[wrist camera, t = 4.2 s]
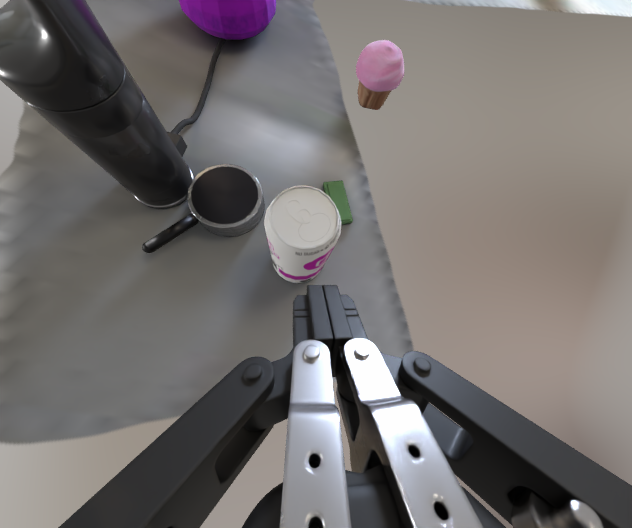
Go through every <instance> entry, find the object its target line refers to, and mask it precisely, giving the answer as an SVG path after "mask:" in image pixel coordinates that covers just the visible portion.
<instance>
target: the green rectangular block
mask: <svg viewBox="0 0 632 528" xmlns="http://www.w3.org/2000/svg"><path fill="white" fill-rule="evenodd" d="M323 188H324V192H325V193H326V194H327V195H328V196H329V197H330V198H331V199H332V201H333V202H334V203H335V205H336V208H337V210H338V212H339V215H340V219H341V224H348V223H352V221H353V219H352V215H351V212H350V208H349V204H348V200H347V196H346V192H345V188H344V185H343V181H332V182H324V183H323Z"/></svg>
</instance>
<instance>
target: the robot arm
mask: <svg viewBox="0 0 632 528" xmlns="http://www.w3.org/2000/svg"><path fill="white" fill-rule="evenodd" d="M224 41H225V39H224V38H220V40H219V42H218V44H217V46H216V49H215V51H214V54H213V56H212V59H211V63H210V67H209V71H208V75H207V79H206V82H205V85H204V88H203V91H202V94H201V97H200V100H199V103H198V106H197V108H196V110H195V112H194V114H193V115H192V116H191V118H189V119H184V120H182V121H181V122H180V123H178V124H177V125H176V127H175V128H174V129H173V130H172V131H171V132H166V130H165V129H164V127H163V125H162V124H161V122H160V121H159V119H158V117H157V116H156V114H155V112H154V111H153V109H152V108H151V106H150V104H149V103H148V101H147V100H146V98H145V96H144V95H143V93H142V91H141V90H140V88H139V87H138V85H137V84H136V82H135V80H134V79H133V77H132V76H131V74H130V72H129V71H128V69H127V67H126V66H125V64H124V63H123V61H122V59H121V58H120V56H119V54H118V53H117V51H116V50H115V48H114V47H113V45H112V43H111V42H110V40H109V39H108V37H107V35H106V34H105V32H104V30H103V29H102V27H101V25H100V24H99V22H98V20H97V19H96V17H95V15H94V14H93V12H92V11H91V9H90V7H89V6H88V4H87V2H86V1H85V0H10V1H8V2H7V3H6V4H5V5H4V6H3V7H2V8H1V9H0V80H1V81H2V82H3V83H4V84H5V85H6V86H8V87H9V88H10V89H11V90H12V91H13V92H15V93H16V94H17V95H18V96H19V97H20V98H22V99H23V100H24V101H25V102H26V103H27V104H29V105H30V106H31V107H32V108H33V109H34V110H36V111H37V112H38V113H39V114H40V115H41V116H43V117H44V118H45V119H46V120H47V121H48V122H49V123H51V124H52V125H53V126H54V127H55V128H57V129H58V130H59V131H60V132H61V133H62V134H64V135H65V136H66V137H67V138H68V139H69V140H71V141H72V142H73V143H74V144H75V145H76V146H77V147H79V148H80V149H81V150H82V151H83V152H84V153H86V154H87V155H88V156H89V157H90V158H91V159H93V160H94V161H95V162H96V163H97V164H98V165H99V166H101V167H102V168H103V169H104V170H105V171H106V172H108V173H109V174H110V175H111V176H112V177H113V178H115V179H116V180H117V181H118V182H119V183H120V185H123V186H124V187H125V188H126V189H127V190H128V191H130V192H131V193H132V194H133V195H134V196H135V197H136V198H137V199H138V200H139V201H140V202H141V203H143V204H144V205H146V206H149V207H152V208H158V209H163V208H170V207H173V206H176V205H178V204H180V203H182V202H183V201H184V200H186V199H187V194H188V189H189V186H190V184H191V182H192V181H193V179H194V176H193V173H192V171H191V170H190V168H189V167H188V166H187V164H186V163H185V161H184V160H183V158H182V157H183V154H184V152H185V150H186V148H187V145H186V143H185V142H184V140H183V138H182V136H181V135H178V133H179V132H180V131H181V130H182V129H183V128H184V127H185V126H186V125H189V124H192V123H194V122H195V121H196V120H197V118H198V117H199V115H200V113H201V111H202V108H203V106H204V103H205V100H206V97H207V94H208V91H209V88H210V84H211V81H212V76H213V72H214V68H215V64H216V61H217V58H218V55H219V53H220V50H221V48H222V45H223V43H224ZM332 377H336V380H337V391H336V394H337V399H338V403H339V407H340V411H341V415H342V419H343V423H344V426H345V430H346V434H347V438H348V442H349V447H350V461H351V468H352V471H347V470H345V463H344V454H343V445H342V436H341V428H340V427H341V426H340V417H339V411H338V408H337V407H336V406H335V401H334V389H333V379H332ZM429 402H430V403H431V404H432V405H431V404H430V403H429ZM433 405H434V406H435V407H436V408H435V407H434V406H433ZM437 408H438V409H439V410H440V411H441V412H440V411H439V410H438V409H437ZM442 412H443V413H444V414H445V415H447V416H448V417H449V418H448V417H447V416H445V415H444V414H443V413H442ZM287 418H288V425H287V439H286V451H285V465H284V478H283V483H281V484H279V485H278V486H276V487H275V488H273V489H272V490H271V491H270V492H269V493H268V494H266V495H265V497H263V499H262V500H261V501H260V502H259V503H258V504H257V506H256V507H255V508H254V509H253V511H252V512H251V514H250V515H249V517H248V518H247V520H246V521H245V523H244V525H243V527H242V528H506V527H505V526H504V525H503V524H502V523H501V522H499V520H498V519H496V518H495V517H494V516H493V515H492V514H491V513H490V512H489V511H488V510H487V509H486V508H485V507H484V506H483V505H482V504H481V503H479V501H477V500H476V499H475V498H474V497H473V496H472V495H471V494H470V493H469V492H468V491H467V490H466V489H465V488H463V487H462V486H461V485H460V483H459V482H458V480H457V478H456V476H457V477H459V478H460V479H461V480H462V481H463V482H464V483H465V484H466V485H467V486H469V487H470V488H471V489H472V490H473V491H474V492H475V493H476V494H478V495H479V496H480V497H481V498H482V499H483V500H484V501H486V503H488V504H489V505H490V506H491V507H492V508H493V509H494V510H495V511H497V512H498V513H499V514H500V515H501V516H502V517H503V518H504V519H506V520H507V521H508V522H509V523H510V524H511V525H512V526H513V528H632V486H631V485H630V484H628V483H627V482H625V481H623V480H622V479H620V478H619V477H617V476H616V475H614V474H613V473H611V472H609V471H608V470H606V469H605V468H603V467H602V466H600V465H599V464H597V463H595V462H594V461H592V460H591V459H589V458H588V457H586V456H584V455H583V454H581V453H580V452H578V451H577V450H575V449H574V448H572V447H570V446H569V445H567V444H566V443H564V442H563V441H561V440H559V439H558V438H556V437H555V436H553V435H552V434H550V433H549V432H547V431H545V430H544V429H542V428H541V427H539V426H538V425H536V424H535V423H533V422H532V421H530V420H528V419H527V418H525V417H524V416H522V415H521V414H519V413H517V412H516V411H514V410H513V409H511V408H510V407H508V406H507V405H505V404H503V403H502V402H500V401H499V400H497V399H496V398H494V397H492V396H491V395H489V394H488V393H486V392H485V391H483V390H482V389H480V388H478V387H477V386H475V385H474V384H472V383H471V382H469V381H468V380H466V379H464V378H463V377H461V376H460V375H458V374H457V373H455V372H453V371H452V370H450V369H449V368H447V367H445V366H444V365H443V364H441V363H439V362H438V361H436V360H435V359H433V358H432V357H430V356H428V355H427V354H424V353H421V352H418V351H410V352H407V353H406V354H405V355H404V356H403V358H399V357H395V356H391V355H387V354H384V353H382V352H380V351H379V350H378V348H377V347H376V346H375V345H374V344H373V343H372V342H370V341H369V340H368V338H367V335H366V333H365V330H364V327H363V325H362V322H361V320H360V317H359V314H358V312H357V310H356V307H355V304H354V301H353V300H352V299H351V298H350V297H349V296H348V295H340V293H339V290H338V287H337V285H307V295H297V297H296V298H295V300H294V302H293V349H292V351H291V352H290V353H289V354H288V355H287V356H286V357H284V358H282V359H280V360H277V361H274V362H270V361H269V360H267V359H265V358H263V357H251V358H248V359H246V360H244V361H242V362H241V363H240V364H238V365H237V366H236V367H235V368H234V369H233V370H232V371H231V372H230V373H229V374H227V375H226V376H225V377H224V378H223V379H222V380H221V381H220V382H219V383H218V384H216V385H215V386H214V387H213V388H212V389H211V390H210V391H209V392H208V393H206V394H205V395H204V396H203V397H202V398H201V399H200V400H199V401H198V402H197V403H195V404H194V405H193V406H192V407H191V408H190V409H189V410H188V411H187V412H186V413H184V414H183V415H182V416H181V417H180V418H179V419H178V420H177V421H176V422H175V423H173V424H172V425H171V426H170V427H169V428H168V429H167V430H166V431H165V432H163V433H162V434H161V435H160V436H159V437H158V438H157V439H156V440H155V441H154V442H153V443H151V444H150V445H149V446H148V447H147V448H146V449H145V450H144V451H142V452H141V453H140V454H139V455H138V456H137V457H136V458H135V459H134V460H133V461H131V462H130V463H129V464H128V465H127V466H126V467H125V468H124V469H123V470H121V472H119V473H118V474H117V475H116V476H115V477H114V478H113V479H112V480H110V481H109V482H108V483H107V484H106V485H105V486H104V487H103V488H102V489H101V490H99V491H98V492H97V493H96V494H95V495H94V496H93V497H92V498H91V499H90V500H88V501H87V502H86V503H85V504H84V505H83V506H82V507H81V508H80V509H78V510H77V511H76V512H75V513H74V514H73V515H72V516H71V517H70V518H69V519H68V520H66V521H65V522H64V523H63V524H62V525H61V526H60V527H59V528H200V526H201V525H202V523H203V522H204V521H205V519H206V518H207V517H208V515H209V513H210V512H211V511H212V510H213V508H214V507H215V506H216V504H217V503H218V502H219V500H220V499H221V498H222V496H223V495H224V493H225V492H226V491H227V489H228V488H229V487H230V485H231V484H232V483H233V481H234V480H235V478H236V477H237V476H238V474H239V473H240V472H241V470H242V469H243V468H244V466H245V465H246V463H247V462H248V461H249V459H250V458H251V457H252V455H253V454H254V453H255V451H256V450H257V448H258V447H259V446H260V444H261V443H262V442H263V440H264V439H265V437H266V436H267V435H268V433H269V432H270V431H271V429H272V428H273V426H274V424H276V423H279V422H281V421H283V420H285V419H287ZM450 418H451V419H452V420H453V421H455V422H456V423H457V424H459V425H460V426H461V427H460V426H459V425H457V424H456V423H454V422H453V421H452V420H451V419H450ZM455 475H456V476H455Z"/></svg>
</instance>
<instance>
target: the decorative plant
mask: <svg viewBox="0 0 632 528" xmlns="http://www.w3.org/2000/svg"><path fill="white" fill-rule="evenodd" d="M179 2H180V5H181V8H182V11H183V12H184V13H185V14H186V15H187V16H188V17H189V18H190V19H191V20H192V21H193V22H194V23H195V24H196V25H197V26H198V27H199V28H200V29H202V30H203V31H205V32H207V33H209V34H211V35H212V36H216V37H220V38H224V39H237V40H241V39H246V38H250V37H254V36H256V35H257V34H259V33H260V32H262V31H264V29H265V28H266V26H267V25H268V24H269V22H270V21H271V19H272V18H273V16H274V14H275V10H276V0H179Z"/></svg>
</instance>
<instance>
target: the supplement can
mask: <svg viewBox="0 0 632 528" xmlns="http://www.w3.org/2000/svg"><path fill="white" fill-rule="evenodd" d="M264 226H265V231H266V235H267V240H268V244H269V248H270V253H271V257H272V262H273V266H274V268H275V270H276V271H277V273H278V274H279V275H280V276H281V277H282V278H284V279H285V280H287V281H290V282H293V283H305V282H307V281H309V280H312V279H313V278H314V277H316V276H317V275H318V274H319V273H320V271H321V269H322V267H323V266H324V264H325V262H326V260H327V258H328V257H329V255H330V253H331V251H332V250H333V248H334V246H335V244H336V242H337V240H338V238H339V236H340V234H341V219H340V215H339V212H338V210H337V208H336V205H335V203H334V202H333V201H332V199H331V198H330V197H329V196H328V195H327V194H326V193H324V192H323V191H321V190H320V189H317V188H314V187H311V186H294V187H291V188H288V189H285V190H284V191H283V192H281V193H280V194H279V195H277V196H276V198H275V199H274V200H273V201H272V202H271V204H270V206H269V207H268V209H267V210H266V215H265V220H264Z"/></svg>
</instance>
